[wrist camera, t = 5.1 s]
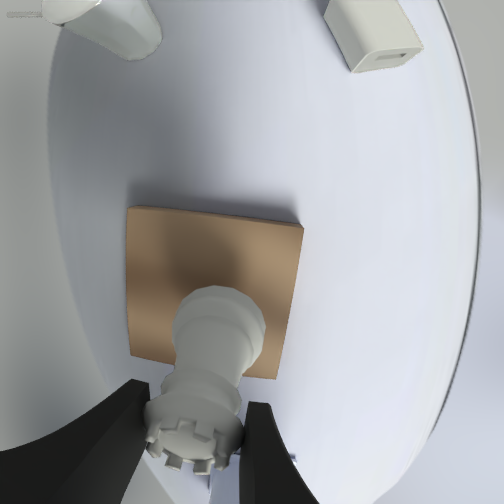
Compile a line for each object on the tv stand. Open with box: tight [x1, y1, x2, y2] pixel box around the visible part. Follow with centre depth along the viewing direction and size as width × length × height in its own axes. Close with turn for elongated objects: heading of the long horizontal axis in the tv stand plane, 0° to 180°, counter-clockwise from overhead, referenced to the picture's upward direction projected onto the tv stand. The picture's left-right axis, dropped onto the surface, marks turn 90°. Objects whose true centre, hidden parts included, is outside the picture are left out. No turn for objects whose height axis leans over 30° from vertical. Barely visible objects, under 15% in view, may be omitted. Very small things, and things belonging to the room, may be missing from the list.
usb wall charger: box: [324, 0, 424, 74], centre depth 12 cm, size 4×7×4 cm, turn 19°
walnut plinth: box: [126, 205, 304, 380], centre depth 18 cm, size 10×10×2 cm
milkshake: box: [7, 0, 162, 61], centre depth 10 cm, size 4×5×10 cm
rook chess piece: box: [141, 285, 266, 475], centre depth 10 cm, size 4×4×8 cm
